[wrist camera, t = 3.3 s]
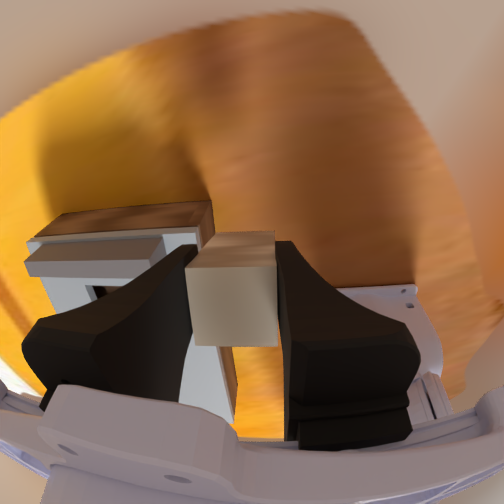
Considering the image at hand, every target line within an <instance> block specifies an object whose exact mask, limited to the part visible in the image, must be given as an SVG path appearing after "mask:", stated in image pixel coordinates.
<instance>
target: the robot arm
mask: <svg viewBox="0 0 504 504" xmlns="http://www.w3.org/2000/svg"><path fill="white" fill-rule="evenodd" d="M197 255H198V247H197V244H182V245H180V246H179V247H177V248H176V249H174V250H173V251H172V252H170V253H169V254H168V255H166V256H165V257H164V258H163V259H161V260H160V261H159V262H157V263H156V264H155V265H153V266H152V267H151V268H149V269H148V270H146V271H145V272H143V273H142V274H141V275H139V276H138V277H136V278H135V279H133V280H132V281H130V282H129V283H127V284H125V285H124V286H122V287H120V288H119V289H117V290H115V291H113V292H111V293H109V294H107V295H105V296H103V297H101V298H99V299H97V300H95V301H92V302H90V303H88V304H85V305H83V306H80V307H77V308H75V309H72V310H69V311H66V312H63V313H59V314H55V315H52V316H48V317H44V318H40V319H38V321H37V322H36V323H35V325H34V326H33V328H32V329H31V330H30V332H29V333H28V335H27V336H26V337H25V339H24V340H23V342H22V344H21V345H22V353H23V355H24V358H25V360H26V362H27V363H28V365H29V366H30V368H31V369H32V370H33V372H34V373H35V374H36V376H37V377H38V378H39V380H40V381H41V382H42V383H43V385H44V386H45V387H46V388H47V391H46V393H45V395H44V397H43V399H42V401H41V403H39V402H37V401H34V400H31V399H29V398H26V397H24V396H22V395H19V394H17V393H15V392H12V391H10V390H8V389H7V387H6V386H5V384H4V383H3V382H2V381H1V380H0V451H1V452H2V453H4V454H5V455H7V456H8V457H10V458H12V459H13V460H15V461H16V462H18V463H20V464H21V465H23V466H25V467H26V468H28V469H30V470H31V471H33V472H35V473H36V474H38V475H40V476H42V477H44V478H46V479H47V480H48V481H47V484H46V487H45V490H44V493H43V496H42V499H41V502H40V504H440V503H439V500H442V499H444V498H446V497H449V496H451V495H454V494H456V493H458V492H461V491H463V490H465V489H467V488H469V487H471V486H474V485H476V484H478V483H480V482H482V481H484V480H486V479H488V478H490V477H492V476H493V475H495V474H497V473H498V472H500V471H501V470H503V469H504V385H503V386H500V387H497V388H495V389H492V390H490V391H488V392H487V393H486V394H484V395H483V396H482V397H481V398H480V399H479V401H478V402H477V404H476V405H475V407H474V408H470V409H467V410H464V411H461V412H459V413H455V414H454V413H453V410H452V407H451V405H450V402H449V399H448V397H447V394H446V392H445V389H444V387H443V384H442V382H441V379H440V376H441V373H442V368H443V352H442V346H441V342H440V339H439V337H438V335H437V333H436V331H435V329H434V327H433V325H432V323H431V322H430V320H429V318H428V316H427V314H426V312H425V311H424V309H423V307H422V305H421V304H420V302H419V300H418V298H417V297H416V293H417V290H418V288H417V286H416V285H415V284H406V285H391V286H375V287H357V288H336V289H335V288H334V287H333V286H331V285H330V284H329V283H328V282H326V281H325V280H324V279H323V278H322V277H321V276H320V275H319V274H318V273H317V272H316V271H315V270H314V269H313V268H312V267H311V266H310V265H309V263H308V262H307V261H306V260H305V259H304V257H303V256H302V255H301V254H300V252H299V251H298V250H297V248H296V247H295V245H294V243H293V242H291V241H275V259H276V264H277V315H278V322H279V329H280V336H281V344H282V351H283V367H284V442H243V441H239V440H238V437H237V433H236V432H235V430H234V429H233V428H232V427H231V426H230V425H229V424H228V423H227V421H226V420H224V419H223V418H222V417H220V416H218V415H216V414H214V413H211V412H209V411H207V410H205V409H203V408H201V407H196V406H191V405H186V404H182V403H179V395H180V388H181V381H182V375H183V369H184V363H185V358H186V354H187V350H188V347H189V344H190V341H191V337H192V334H193V328H192V321H191V314H190V307H189V299H188V291H187V283H186V275H185V267H186V266H187V265H188V264H189V263H190V262H191V261H192V260H193V259H194V258H195V257H196V256H197ZM403 289H404V290H403ZM402 290H403V291H402Z"/></svg>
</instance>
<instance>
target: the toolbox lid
mask: <svg viewBox="0 0 504 504" xmlns="http://www.w3.org/2000/svg"><path fill="white" fill-rule="evenodd" d="M26 244H27V246H28V249H29V252H30V254H31V255H30V256H29V257H28V258H27V259H26V260H25V261H24V264H25V266H26V268H27V271H28V273H29V275H30V277H40V279H41V281H42V283H43V286H44V288H45V290H46V292H47V294H48V297H49V299H50V301H51V303H52V305H53V307H54V309H55V311H56V313H57V314H59V313H63V312H66V311H69V310H72V309H75V308H77V307H80V306H83V305H85V304H88V303H90V302H92V301H95V300H97V297H96V294H95V292H94V289H93V287H92V285H97V286H124V285H125V284H127V283H129V282H130V281H132V280H133V279H135V278H136V277H138V276H139V275H141V274H142V273H143V272H145V271H146V270H148V269H149V268H151V267H152V266H153V265H155V264H156V263H157V262H159V261H160V260H161V259H163V258H164V257H165V256H166V255H168V254H169V253H170V252H172V251H173V250H174V249H176V248H177V247H179V246H180V245H182V244H197V247H198V253H199V251H200V250H201V242H200V236H199V229H198V227H183V228H163V229H145V230H129V231H113V232H98V233H84V234H71V235H58V236H46V237H35V238H31V239H30V240H29V241H27V242H26ZM179 403H182V404H186V405H191V406H196V407H201V408H203V409H205V410H207V411H209V412H211V413H214V414H216V415H218V416H220V417H222V418H223V419H224V420H226V421H227V423H234V414H233V409H232V405H231V401H230V396H229V392H228V387H227V383H226V378H225V373H224V369H223V364H222V359H221V354H220V349H219V346H195V341H194V334H192V337H191V341H190V344H189V347H188V350H187V354H186V358H185V363H184V369H183V375H182V381H181V388H180V395H179Z"/></svg>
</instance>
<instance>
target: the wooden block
mask: <svg viewBox="0 0 504 504" xmlns="http://www.w3.org/2000/svg"><path fill="white" fill-rule="evenodd" d="M185 275H186V283H187V291H188V299H189V307H190V314H191V321H192V328H193V334H194V341H195V346H225V347H269V346H278V318H277V264H276V259H275V231H247V232H219V233H216V234H215V235H214V236H213V237H212V238H211V239H210V240H209V241H208V243H207V244H206V245H205V246H204V247H203V248H202V249H201V250H200V251H199V253H198V255H197V256H196V257H195V258H194V259H193V260H192V261H191V262H190V263H189V264H188V265H187V266H186V267H185Z"/></svg>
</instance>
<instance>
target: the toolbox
mask: <svg viewBox="0 0 504 504" xmlns="http://www.w3.org/2000/svg"><path fill="white" fill-rule="evenodd" d="M183 227H198V229H199V236H200V242H201V249H202V248H203V247H204V246H205V245H206V244H207V243H208V241H209V240H210V239H211V238H212V237H213V236H214V235H215V226H214V218H213V209H212V201H211V200H209V201H193V202H178V203H165V204H152V205H141V206H130V207H119V208H110V209H100V210H91V211H83V212H75V213H67V214H61V215H60V216H59V217H58V218H56V219H55V220H54V221H52V222H51V223H50V224H49V225H47V226H46V227H45V228H44V229H42V230H41V231H40V232H39V233H37V234H36V235H35V236H34V237H46V236H58V235H71V234H84V233H98V232H113V231H129V230H145V229H163V228H183ZM92 287H93V289H94V292H95V294H96V297H97V299H99V298H101V297H103V296H105V295H107V294H109V293H111V292H113V291H115V290H117V289H119V288H120V287H122V286H97V285H92ZM219 349H220V354H221V359H222V364H223V369H224V373H225V378H226V383H227V387H228V392H229V396H230V401H231V405H232V409H233V414H234V415H235V406H236V396H237V386H238V383H237V377H236V371H235V365H234V359H233V353H232V347H225V346H219Z"/></svg>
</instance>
